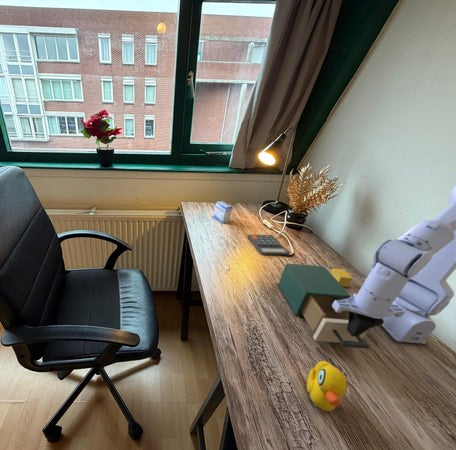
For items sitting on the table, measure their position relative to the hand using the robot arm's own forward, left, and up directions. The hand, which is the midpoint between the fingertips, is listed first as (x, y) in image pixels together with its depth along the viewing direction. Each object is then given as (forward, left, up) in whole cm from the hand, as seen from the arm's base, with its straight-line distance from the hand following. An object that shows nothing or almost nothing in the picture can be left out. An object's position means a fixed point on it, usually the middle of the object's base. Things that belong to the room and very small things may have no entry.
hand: (352, 332), depth 60 cm
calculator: (+51, +1, -7) cm, 52 cm away
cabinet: (+18, 0, -7) cm, 19 cm away
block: (+29, -17, -7) cm, 34 cm away
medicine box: (+74, +17, -7) cm, 76 cm away
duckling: (-12, +12, -7) cm, 19 cm away
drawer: (+6, 0, -6) cm, 9 cm away
